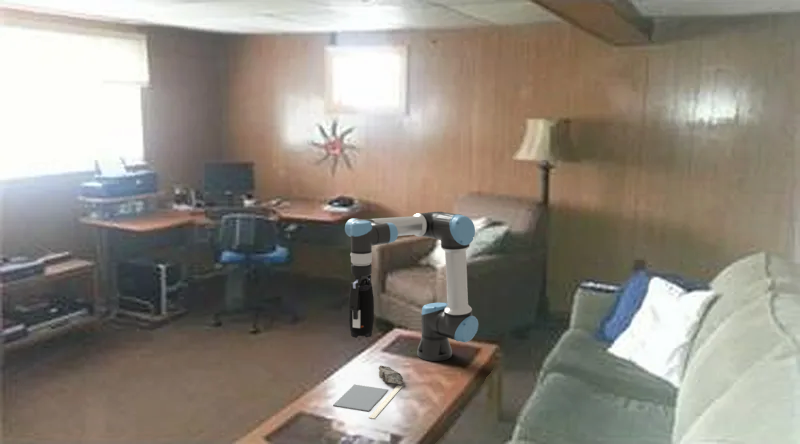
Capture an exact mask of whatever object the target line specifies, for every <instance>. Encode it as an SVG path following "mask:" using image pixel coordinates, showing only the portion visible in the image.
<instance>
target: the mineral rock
mask: <svg viewBox="0 0 800 444" xmlns="http://www.w3.org/2000/svg"><path fill="white" fill-rule="evenodd" d="M378 370H379V372H378V377H379V378H382V380H383V382H384V383H386V384H388V383H389V384H394V385H395V384H397V385H398V384H399V385H401V384H403V383H404V380H403V379H404V378H403V376H402V374H401V373H399V371H396V370H395V369H393V368H391V367H390V366H385V365H379V366H378Z"/></svg>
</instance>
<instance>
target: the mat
mask: <svg viewBox="0 0 800 444" xmlns="http://www.w3.org/2000/svg"><path fill="white" fill-rule="evenodd" d="M388 391H389V389H388V388H382V387H381V388H379V387H375V386H367V385H362V384H361V385H360V384H353V385H352V386H351V387H350V388H349V389H348V390H347V391H345V393H344V394H343V395H341V397H339V399H338V400H336V402H335V403H333V405H332V406H333V407H338V408H344V409H351V410H357V411H362V412H363V411H364V412H370V411H371V410H372V409H373V408H374V407H375V406H376V404H378V402H379V401H380V400H381V399H382V398H383V396H385V394H387V392H388Z"/></svg>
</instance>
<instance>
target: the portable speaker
mask: <svg viewBox="0 0 800 444" xmlns="http://www.w3.org/2000/svg"><path fill="white" fill-rule="evenodd" d="M353 283H354V281H353ZM359 295H360V308H359V310H360V328H354V327H353V310H350V299H351V287H350V289H349V296H348V323H349V330H350V335H351V337H353V338H356V339H357V338H359V337H365V338H370V337H372V335H373V329H374V328H373V327H374V322H375V304H374V303H375V298H374V291H373V284H372V282H371V283H370V282H368V285H365V286H359V294H358V296H359Z"/></svg>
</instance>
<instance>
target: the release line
mask: <svg viewBox="0 0 800 444" xmlns="http://www.w3.org/2000/svg"><path fill="white" fill-rule="evenodd" d="M402 388H403V385H396V386H395V387H394V388H393V390H392V391H391V392H390V393H389V394H388V395H387V397H385V399H384V400H383V401H382V402H381V403H380V405H378V407H376V409H375V410H374V411H373V412H372V413H371V415H370V416H369V417H368V419H371V420H372V419H373V420H375V419H376V417H378V415H379V414H380V413H381V412H382V411H383V410H384V409H385V407H387V405H388V404H389V403H390V402H391V401H392V400H393V398H394V397H395V396H396V395H397V393H398V392H399V391H400V390H401V389H402Z"/></svg>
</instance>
